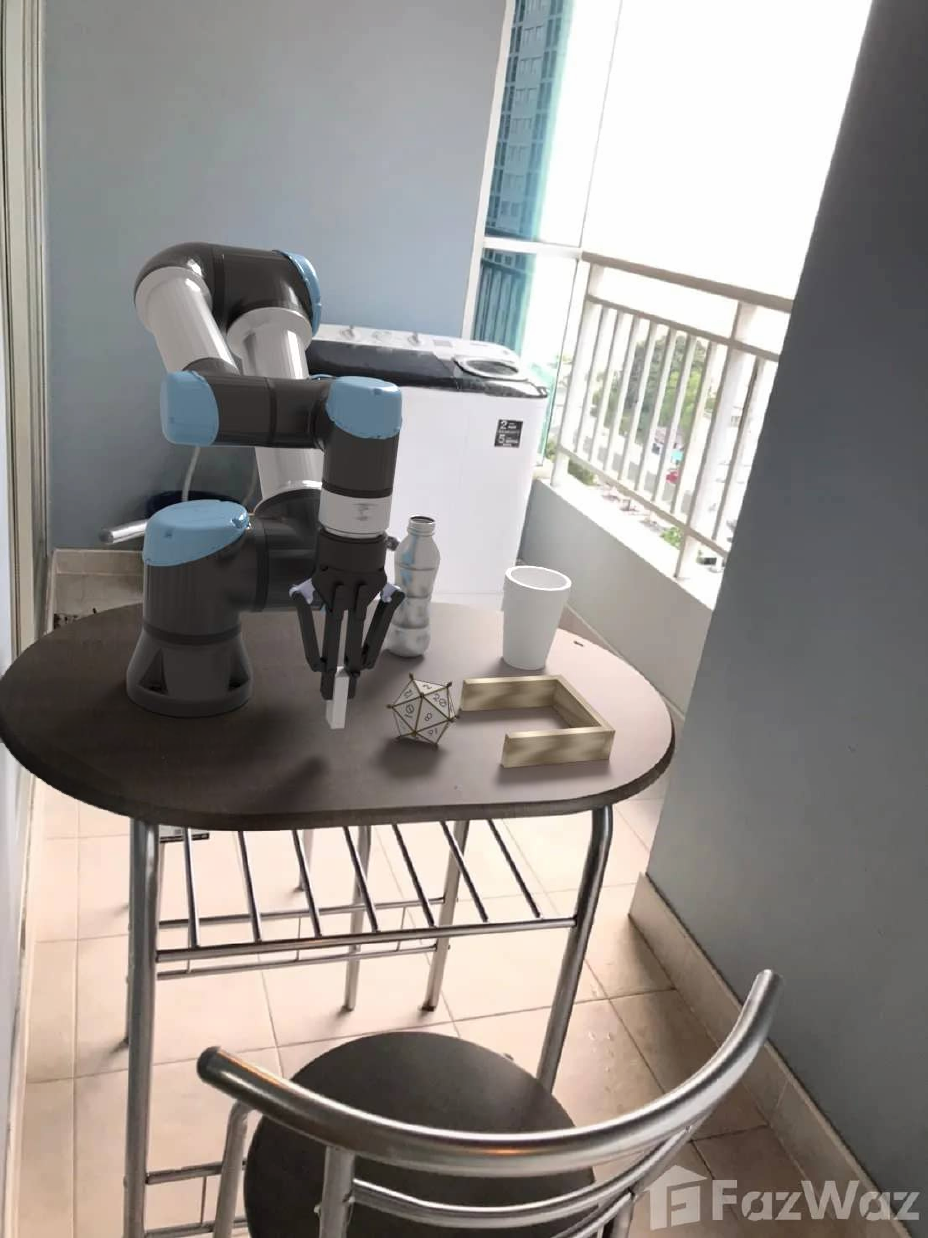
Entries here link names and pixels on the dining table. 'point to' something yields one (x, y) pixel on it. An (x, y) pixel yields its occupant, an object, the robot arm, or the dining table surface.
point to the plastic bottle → (414, 588)
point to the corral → (547, 746)
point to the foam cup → (532, 614)
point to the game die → (423, 711)
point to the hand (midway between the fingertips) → (334, 722)
